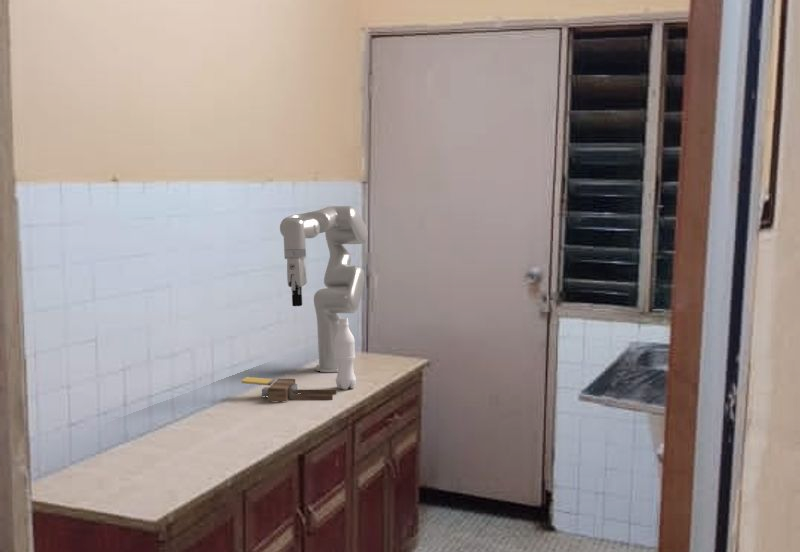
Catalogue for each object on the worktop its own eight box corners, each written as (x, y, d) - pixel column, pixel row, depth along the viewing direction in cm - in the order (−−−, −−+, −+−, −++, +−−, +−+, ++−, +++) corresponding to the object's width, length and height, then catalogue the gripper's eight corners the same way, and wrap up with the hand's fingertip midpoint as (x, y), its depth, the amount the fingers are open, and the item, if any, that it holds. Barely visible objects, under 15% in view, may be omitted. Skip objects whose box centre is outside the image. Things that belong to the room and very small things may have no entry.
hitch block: (278, 391, 298) (278, 378, 298) (338, 391, 296) (337, 378, 296) (268, 402, 285) (267, 388, 284) (330, 402, 282) (330, 388, 282)
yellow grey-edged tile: (246, 378, 295) (246, 375, 295) (275, 381, 294) (275, 378, 294) (241, 383, 289) (241, 380, 289) (270, 385, 288) (270, 382, 288)
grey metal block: (260, 399, 289) (260, 387, 289) (266, 394, 295) (265, 383, 295) (292, 399, 288) (292, 387, 287) (297, 395, 293) (297, 383, 293)
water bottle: (357, 385, 304) (355, 316, 301) (354, 390, 297) (352, 319, 294) (338, 385, 305) (335, 316, 302) (334, 390, 298) (331, 319, 295)
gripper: (300, 255, 293) (303, 308, 295) (310, 252, 307) (312, 302, 309) (279, 256, 294) (281, 309, 296) (289, 252, 308) (291, 302, 310)
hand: (297, 305), depth 302 cm, fingers closed
